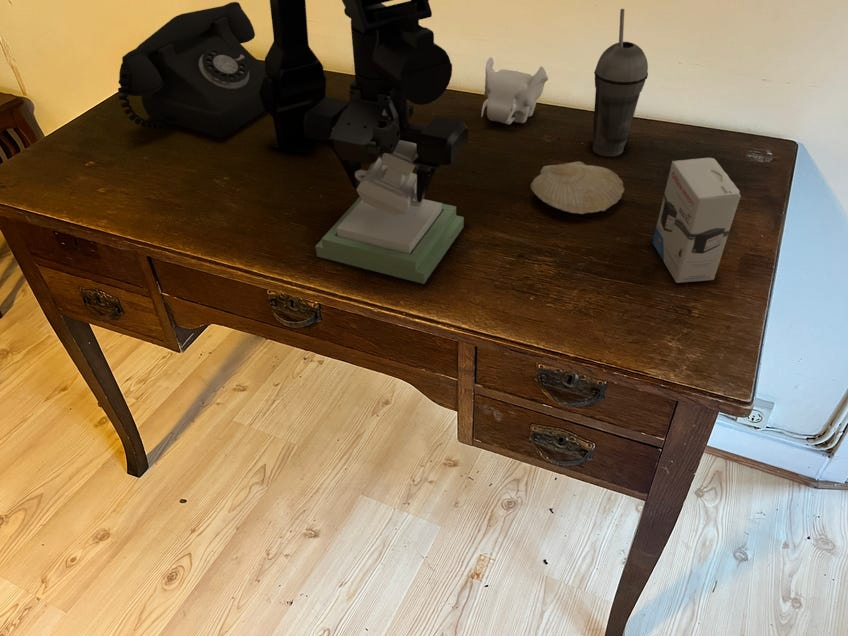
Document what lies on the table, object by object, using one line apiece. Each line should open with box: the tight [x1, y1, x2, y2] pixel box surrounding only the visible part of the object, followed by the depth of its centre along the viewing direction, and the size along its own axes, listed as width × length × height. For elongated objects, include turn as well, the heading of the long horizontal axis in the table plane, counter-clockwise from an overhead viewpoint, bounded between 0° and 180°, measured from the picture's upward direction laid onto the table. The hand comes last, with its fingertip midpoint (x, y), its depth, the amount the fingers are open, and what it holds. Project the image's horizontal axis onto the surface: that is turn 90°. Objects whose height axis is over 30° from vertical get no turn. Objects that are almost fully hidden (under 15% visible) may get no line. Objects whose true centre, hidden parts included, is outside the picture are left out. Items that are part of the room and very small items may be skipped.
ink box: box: [652, 157, 742, 284], centre depth 86 cm, size 8×5×12 cm, turn 5°
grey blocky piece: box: [355, 140, 423, 217], centre depth 88 cm, size 9×7×8 cm
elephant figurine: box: [481, 56, 549, 125], centre depth 115 cm, size 10×12×9 cm
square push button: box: [337, 198, 443, 254], centre depth 93 cm, size 10×10×2 cm
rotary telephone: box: [117, 1, 267, 138], centre depth 119 cm, size 30×17×15 cm, turn 148°
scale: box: [314, 196, 465, 285], centre depth 94 cm, size 15×13×3 cm
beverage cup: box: [592, 8, 649, 157], centre depth 103 cm, size 7×7×20 cm
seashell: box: [530, 160, 625, 215], centre depth 100 cm, size 12×12×3 cm
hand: (388, 193), depth 90 cm, fingers closed on grey blocky piece, 8 cm apart
